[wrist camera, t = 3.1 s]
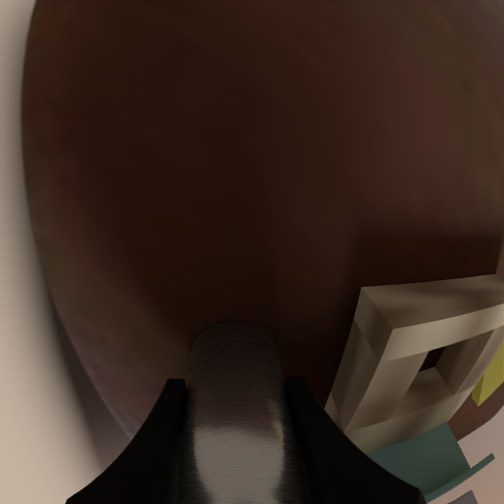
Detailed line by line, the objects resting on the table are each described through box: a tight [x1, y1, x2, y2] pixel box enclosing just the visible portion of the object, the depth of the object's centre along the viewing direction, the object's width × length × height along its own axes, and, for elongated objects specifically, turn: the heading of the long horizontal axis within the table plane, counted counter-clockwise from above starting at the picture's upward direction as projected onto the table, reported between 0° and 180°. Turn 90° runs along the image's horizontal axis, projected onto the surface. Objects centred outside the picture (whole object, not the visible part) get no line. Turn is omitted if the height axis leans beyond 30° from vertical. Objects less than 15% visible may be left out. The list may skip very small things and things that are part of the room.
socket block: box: [324, 274, 504, 454], centre depth 13 cm, size 11×13×3 cm
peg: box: [177, 322, 309, 504], centre depth 8 cm, size 4×4×9 cm
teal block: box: [366, 423, 495, 503], centre depth 10 cm, size 11×4×6 cm, turn 89°
